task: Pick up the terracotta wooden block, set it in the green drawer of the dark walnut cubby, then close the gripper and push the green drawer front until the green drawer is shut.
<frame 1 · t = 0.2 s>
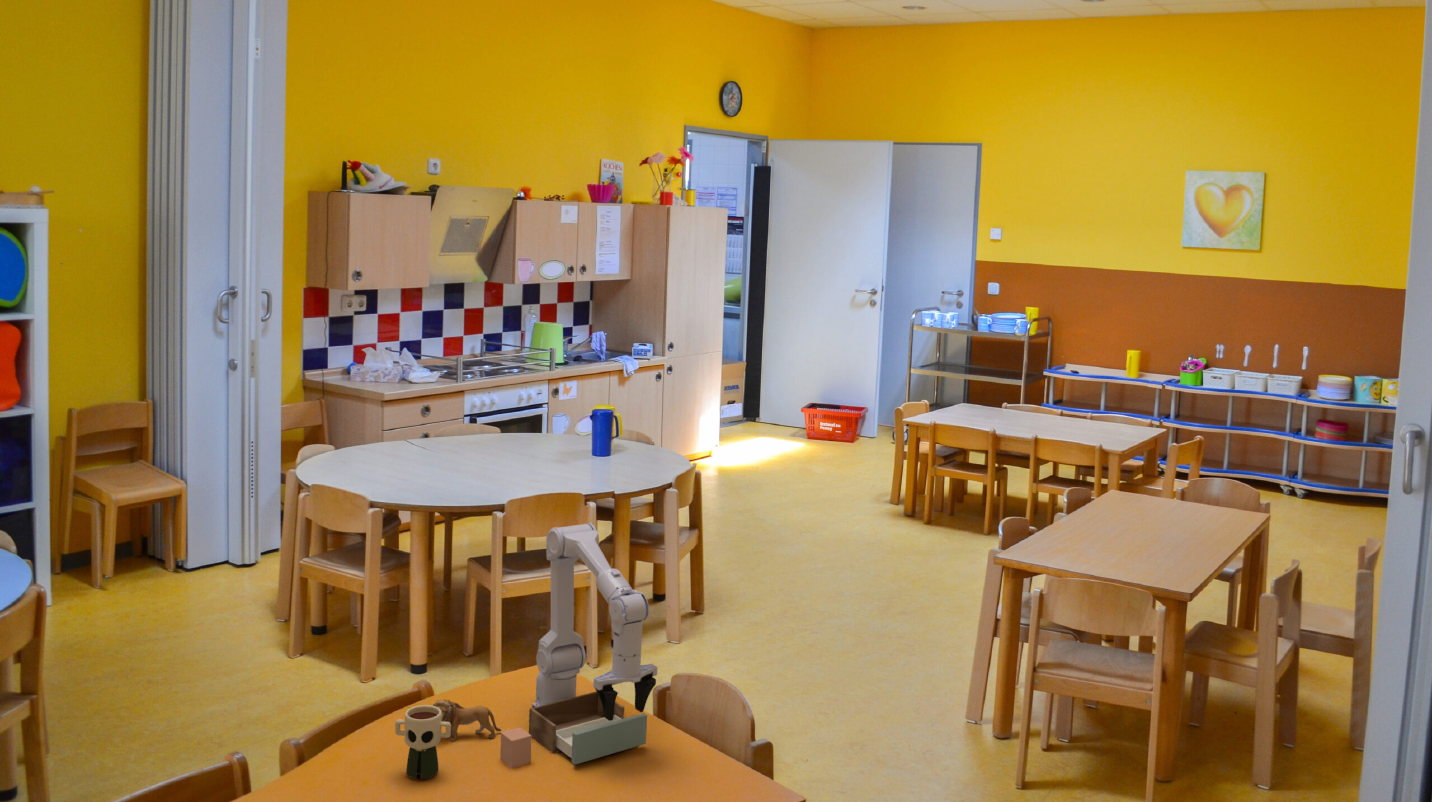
hand: (624, 714, 242), 10 cm above the table, fingers open, 7 cm apart
terracotta block: (515, 761, 241), on the table
green drawer: (597, 729, 247), point 4 cm above the table, slide at 7.0 cm
cubby: (576, 733, 254), on the table
character mug: (422, 774, 234), on the table
lion figurine: (464, 738, 250), on the table
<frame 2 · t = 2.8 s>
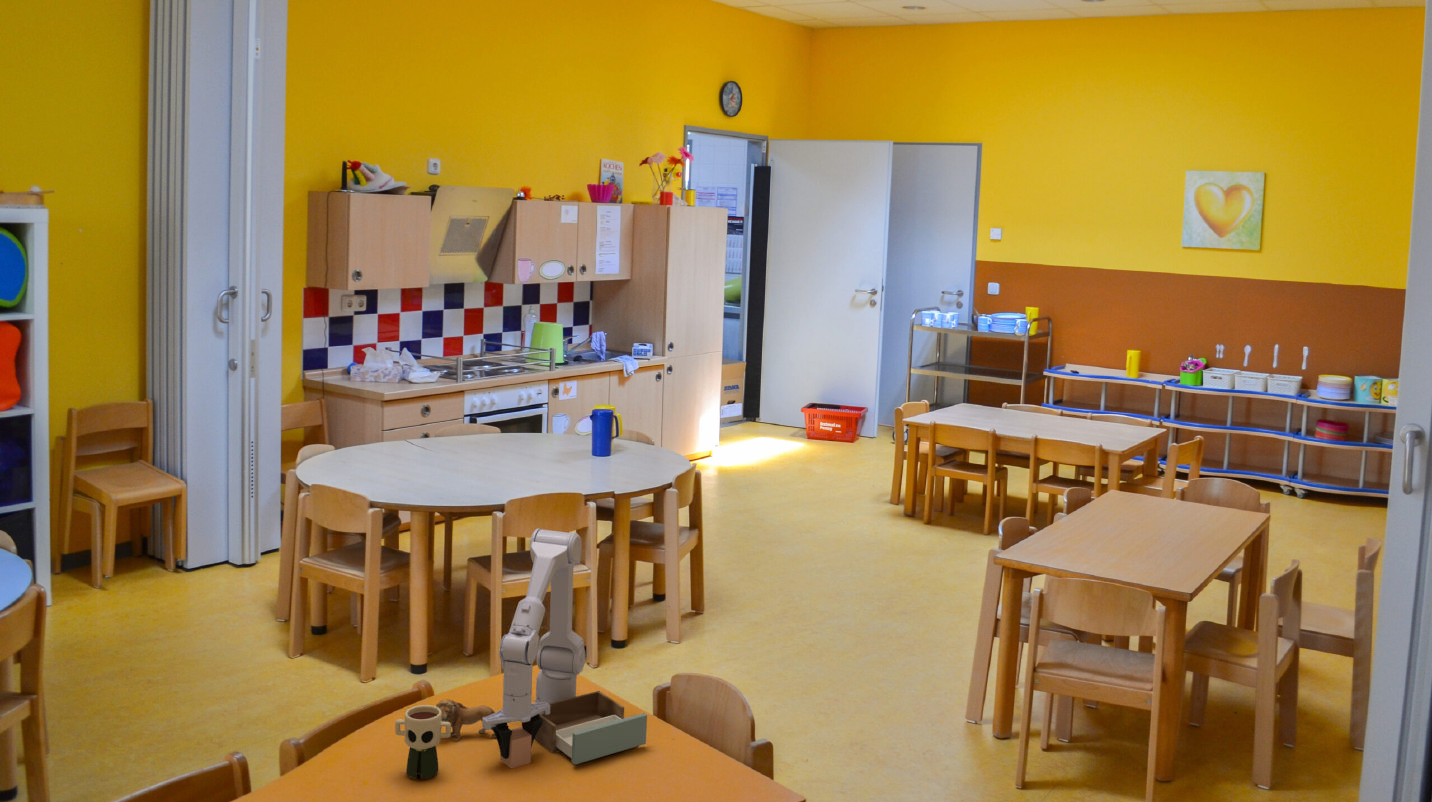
hand: (515, 753, 241), 2 cm above the table, fingers closed on terracotta block, 4 cm apart
terracotta block: (515, 761, 241), on the table, touching gripper
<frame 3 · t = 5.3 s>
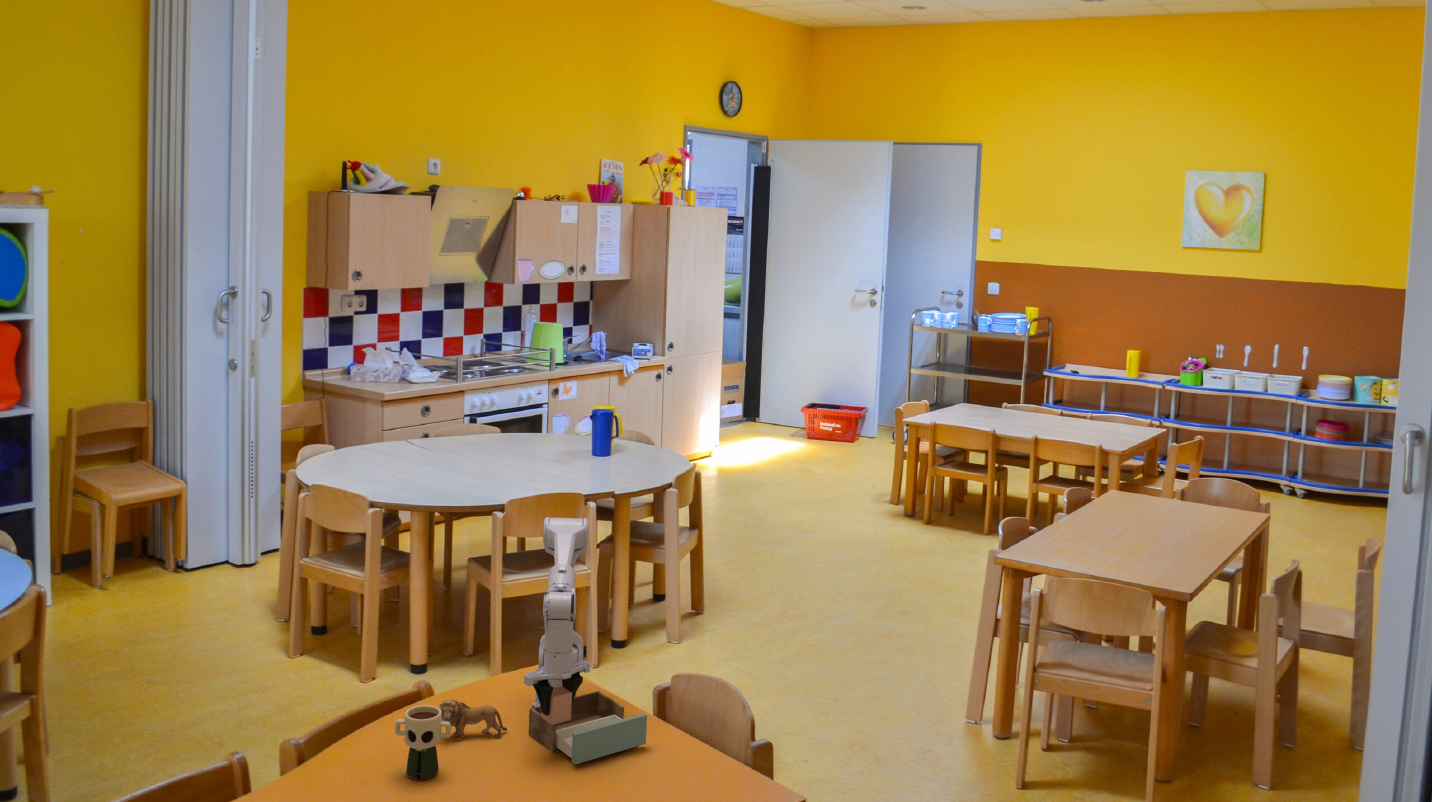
hand: (556, 710, 244), 9 cm above the table, fingers closed on terracotta block, 4 cm apart
terracotta block: (555, 718, 244), point 8 cm above the table, touching gripper
when the fingers open (4 cm above the table, at t = 7.9 s): terracotta block stays where it is, resting on green drawer.
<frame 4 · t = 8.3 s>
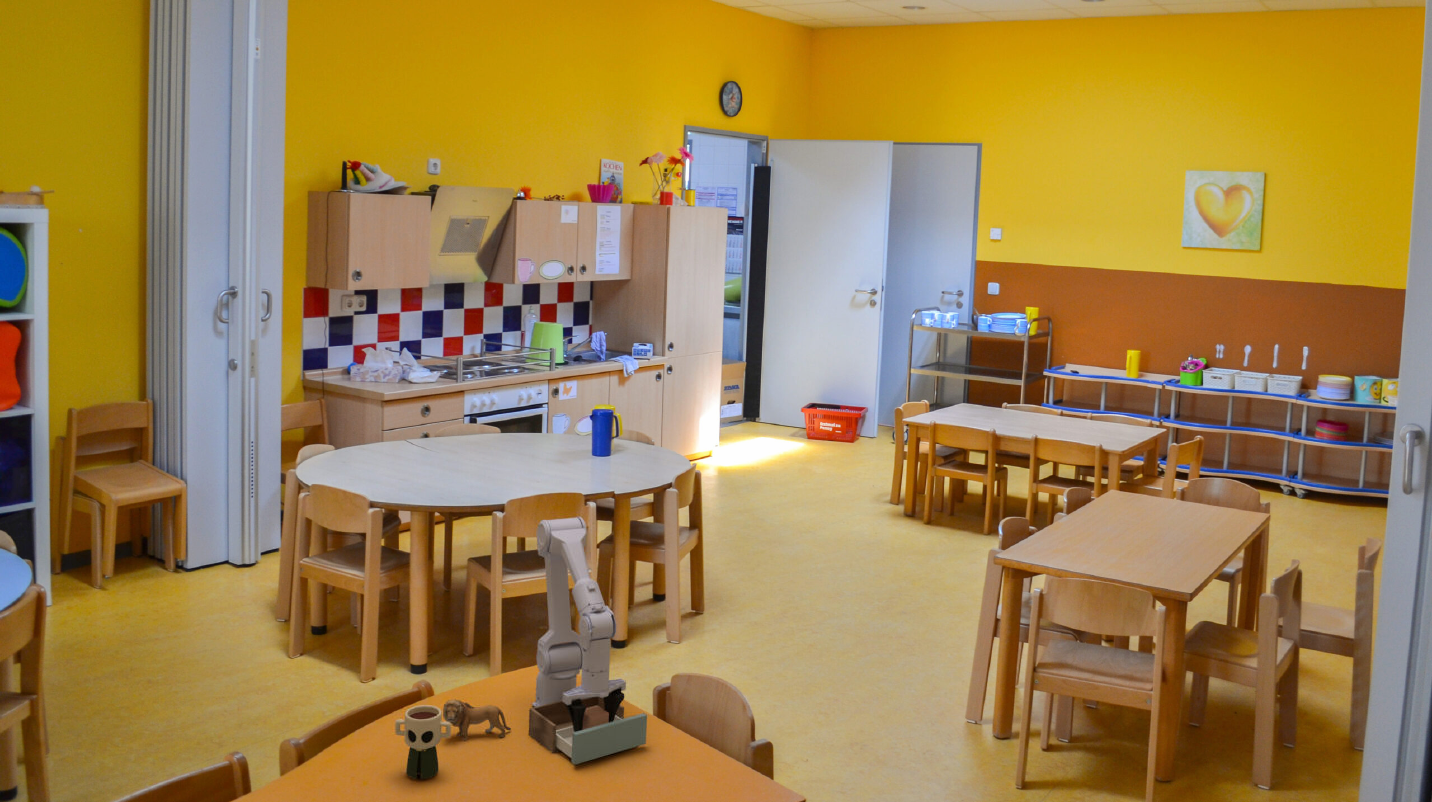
hand: (593, 728, 249), 4 cm above the table, fingers open, 7 cm apart
terracotta block: (592, 738, 249), point 2 cm above the table, touching green drawer
green drawer: (597, 729, 247), point 4 cm above the table, slide at 7.0 cm, touching terracotta block
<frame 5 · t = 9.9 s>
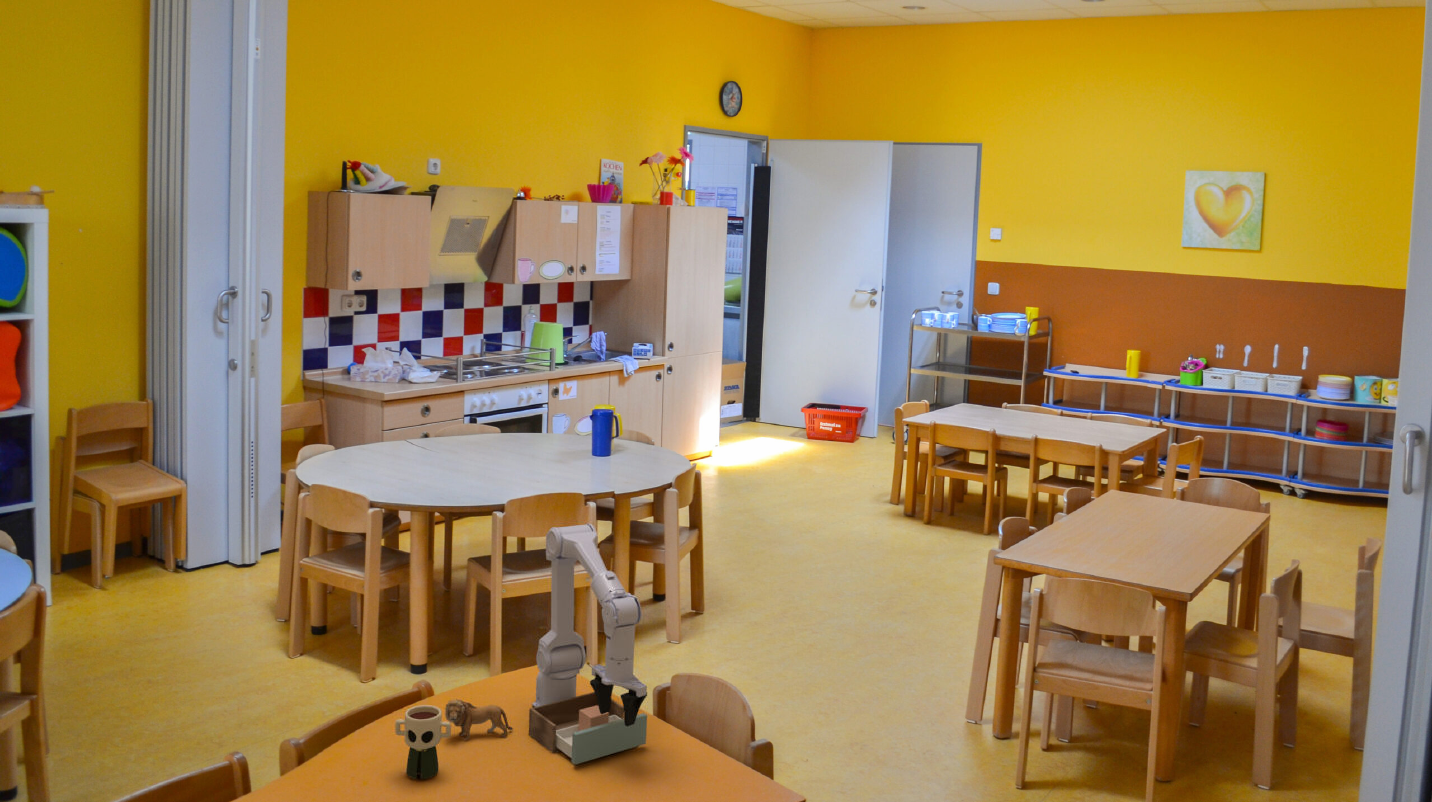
hand: (617, 718, 241), 10 cm above the table, fingers open, 7 cm apart
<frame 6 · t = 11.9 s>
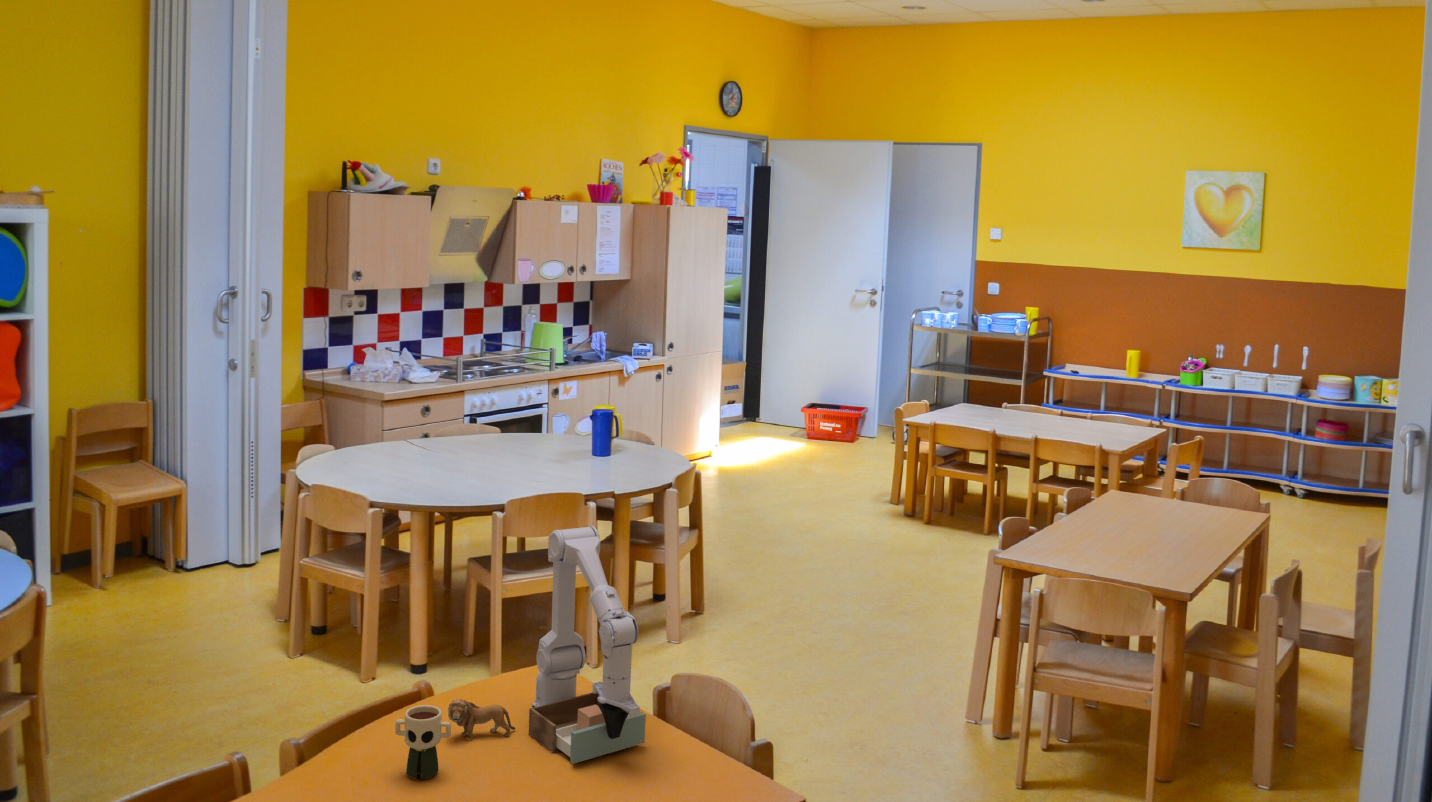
hand: (614, 736, 243), 5 cm above the table, fingers closed
green drawer: (596, 728, 248), point 4 cm above the table, slide at 6.5 cm, touching gripper, terracotta block
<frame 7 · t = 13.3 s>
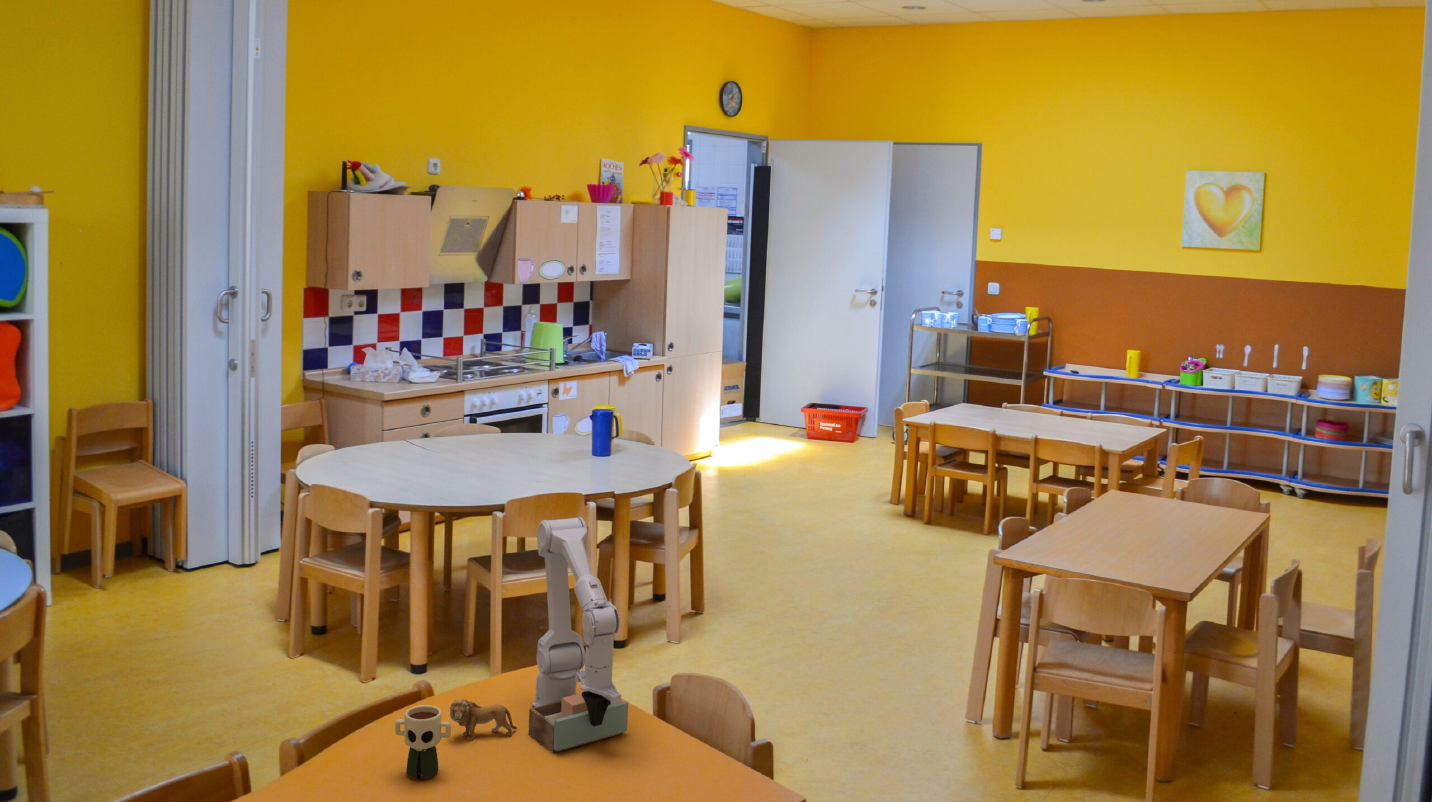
hand: (596, 724, 248), 5 cm above the table, fingers closed
terracotta block: (575, 725, 255), point 2 cm above the table, touching green drawer
green drawer: (579, 717, 253), point 4 cm above the table, slide at 0.0 cm, touching gripper, terracotta block
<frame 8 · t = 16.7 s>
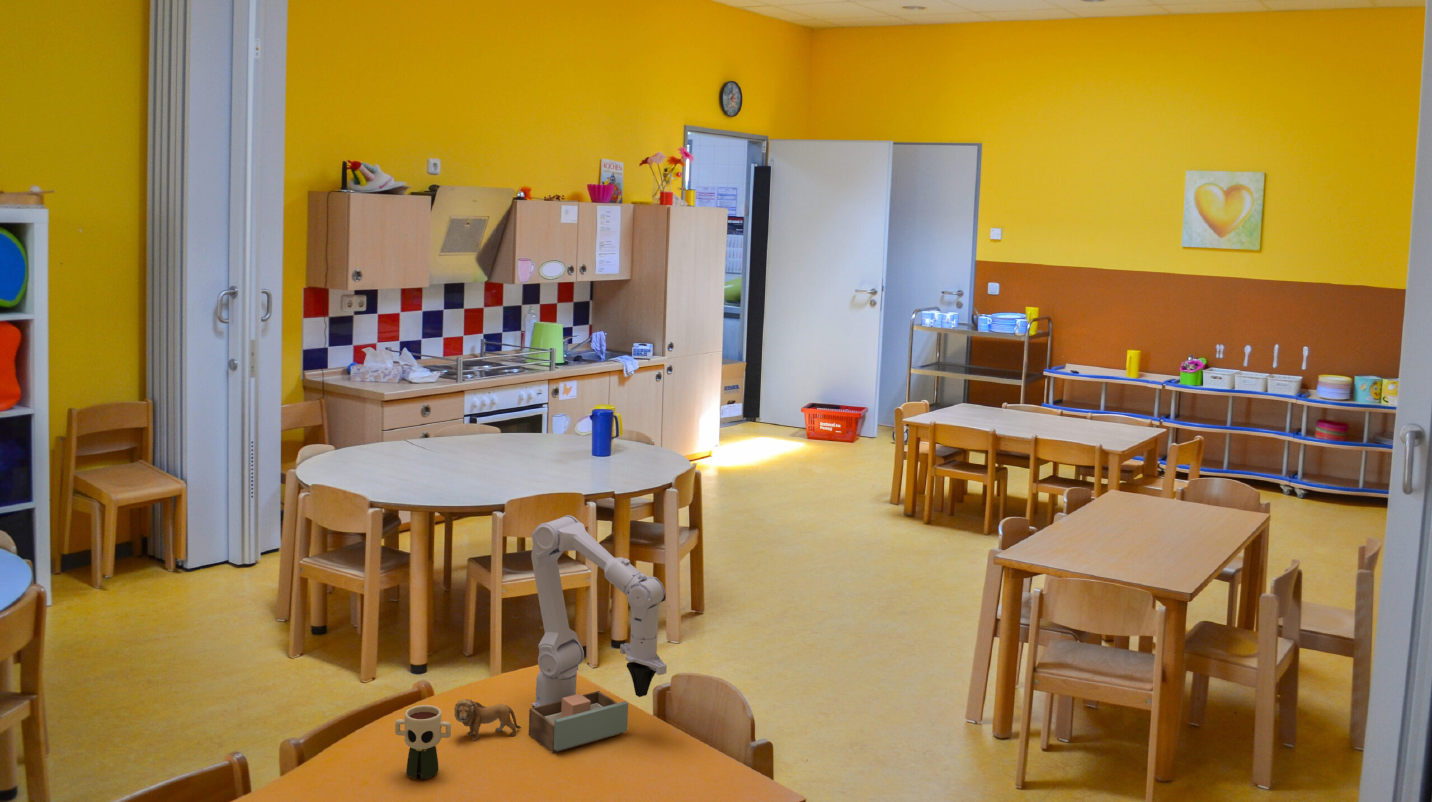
hand: (641, 694, 254), 9 cm above the table, fingers closed
green drawer: (579, 717, 253), point 4 cm above the table, slide at 0.0 cm, touching terracotta block
at the end: green drawer slide at 0.0 cm; terracotta block inside the target area on the cubby (0.2 cm from its centre), point 1.7 cm above the cubby's base; terracotta block tilted 0° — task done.
